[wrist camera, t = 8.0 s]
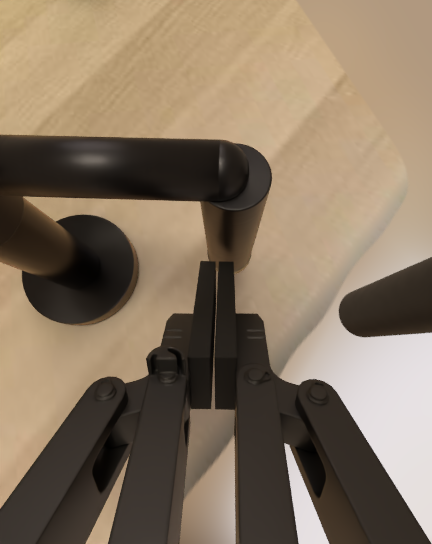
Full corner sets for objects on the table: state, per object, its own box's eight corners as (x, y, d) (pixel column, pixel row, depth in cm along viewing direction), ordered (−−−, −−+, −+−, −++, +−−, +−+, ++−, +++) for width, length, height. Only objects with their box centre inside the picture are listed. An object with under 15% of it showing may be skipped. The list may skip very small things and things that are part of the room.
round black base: (159, 252, 28) (111, 183, 16) (98, 346, 26) (-4, 345, 14) (73, 203, 29) (-28, 105, 17) (10, 290, 27) (-150, 247, 15)
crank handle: (4, 280, 21) (-256, 200, 9) (16, 215, 22) (-205, 73, 10) (249, 289, 20) (283, 216, 9) (251, 222, 21) (282, 82, 10)
